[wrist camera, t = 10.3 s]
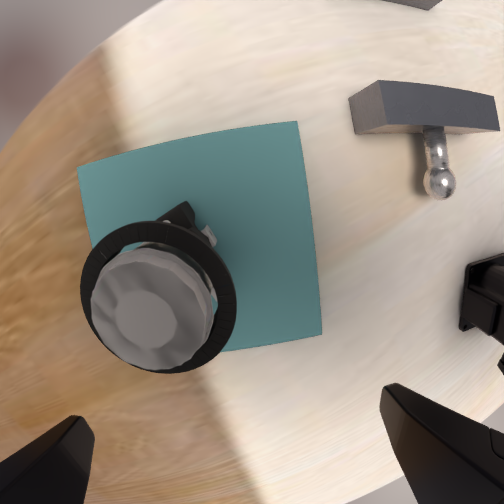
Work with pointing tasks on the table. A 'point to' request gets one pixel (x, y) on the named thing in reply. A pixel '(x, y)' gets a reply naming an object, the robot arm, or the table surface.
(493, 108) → the grey slab pair
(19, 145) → the table surface
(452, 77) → the table surface
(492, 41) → the table surface
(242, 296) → the teal rubber mat
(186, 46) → the table surface
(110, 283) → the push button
